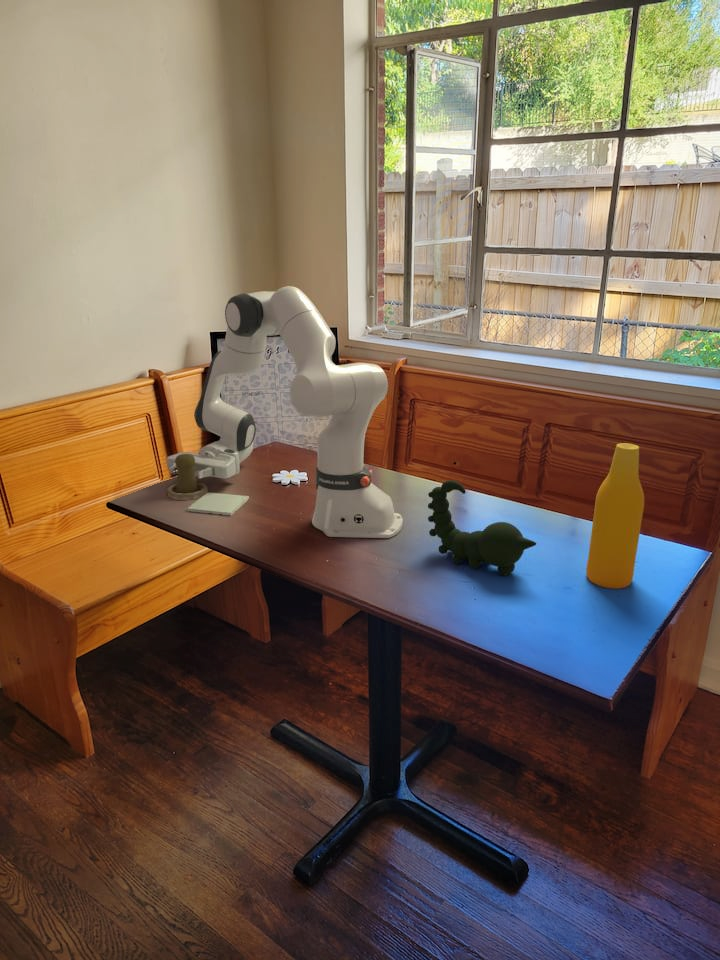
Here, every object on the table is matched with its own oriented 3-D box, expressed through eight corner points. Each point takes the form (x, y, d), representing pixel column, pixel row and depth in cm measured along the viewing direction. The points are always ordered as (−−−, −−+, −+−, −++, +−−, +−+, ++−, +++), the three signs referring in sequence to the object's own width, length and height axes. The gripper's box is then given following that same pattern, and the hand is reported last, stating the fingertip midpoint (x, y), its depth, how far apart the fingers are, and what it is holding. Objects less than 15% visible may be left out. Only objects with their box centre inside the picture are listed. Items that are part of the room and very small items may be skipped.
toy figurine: (422, 563, 153) (525, 589, 138) (418, 482, 148) (525, 500, 132) (445, 549, 160) (545, 573, 145) (442, 471, 155) (547, 487, 139)
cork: (190, 498, 185) (187, 459, 182) (171, 495, 187) (168, 456, 184) (203, 491, 191) (200, 453, 187) (185, 488, 193) (181, 450, 189)
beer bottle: (576, 577, 144) (593, 445, 134) (600, 564, 150) (617, 436, 140) (617, 594, 137) (638, 456, 128) (640, 580, 143) (662, 446, 133)
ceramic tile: (249, 499, 185) (248, 496, 185) (231, 515, 174) (230, 512, 174) (207, 495, 188) (207, 492, 188) (187, 511, 177) (187, 508, 177)
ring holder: (213, 488, 193) (213, 483, 192) (196, 501, 183) (196, 496, 183) (179, 485, 195) (179, 480, 195) (161, 497, 185) (160, 492, 185)
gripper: (183, 444, 201) (152, 457, 189) (243, 453, 193) (214, 467, 181) (185, 464, 203) (154, 479, 191) (244, 474, 196) (216, 489, 184)
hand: (184, 473), depth 186 cm, fingers open, 7 cm apart
